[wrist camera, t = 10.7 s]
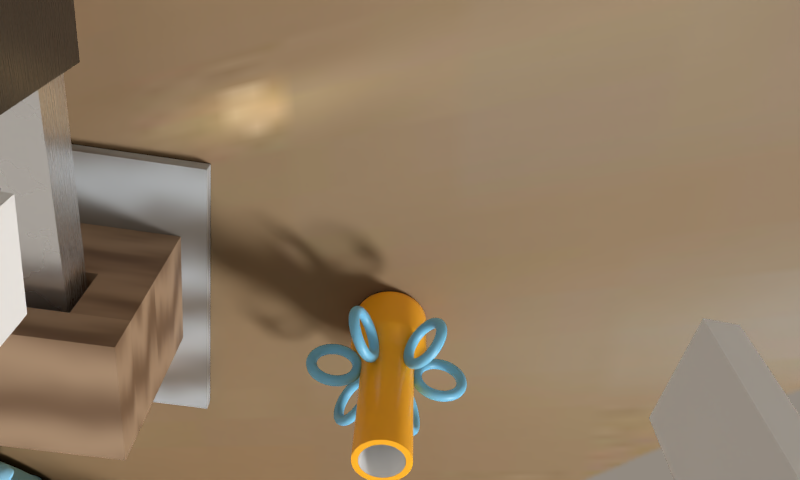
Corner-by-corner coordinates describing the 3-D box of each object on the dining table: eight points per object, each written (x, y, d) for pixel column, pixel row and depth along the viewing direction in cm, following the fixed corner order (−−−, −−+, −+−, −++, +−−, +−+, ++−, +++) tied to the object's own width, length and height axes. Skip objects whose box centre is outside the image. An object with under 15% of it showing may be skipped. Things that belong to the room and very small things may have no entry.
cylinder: (311, 355, 59) (281, 501, 46) (324, 256, 53) (294, 390, 40) (449, 375, 59) (457, 524, 47) (475, 279, 54) (493, 418, 41)
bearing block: (-13, 132, 48) (-155, 229, 36) (210, 164, 49) (143, 269, 37) (32, 378, 61) (-63, 512, 49) (210, 400, 62) (159, 537, 50)
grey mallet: (-27, -46, 35) (-169, -8, 27) (70, -31, 36) (-40, 11, 27) (37, 336, 49) (-44, 443, 40) (107, 345, 49) (41, 453, 40)
